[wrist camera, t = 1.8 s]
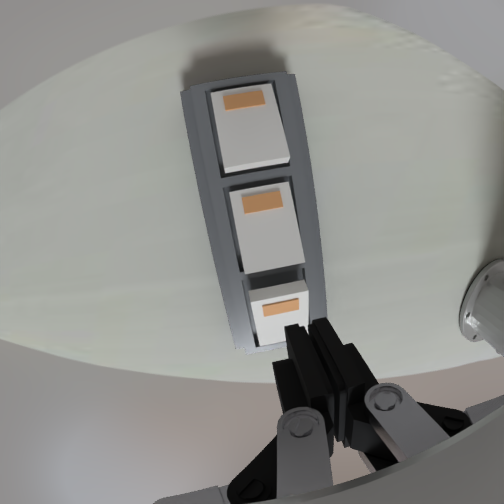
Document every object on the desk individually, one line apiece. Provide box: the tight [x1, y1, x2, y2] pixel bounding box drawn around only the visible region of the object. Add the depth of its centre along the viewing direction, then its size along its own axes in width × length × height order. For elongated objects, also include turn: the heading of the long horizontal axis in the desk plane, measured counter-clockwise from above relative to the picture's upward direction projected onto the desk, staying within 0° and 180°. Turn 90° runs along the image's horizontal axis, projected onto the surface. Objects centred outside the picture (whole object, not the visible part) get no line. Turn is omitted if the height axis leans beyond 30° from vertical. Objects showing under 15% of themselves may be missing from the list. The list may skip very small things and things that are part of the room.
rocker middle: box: [229, 182, 305, 274], centre depth 22 cm, size 6×4×1 cm
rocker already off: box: [249, 280, 309, 346], centre depth 25 cm, size 6×4×1 cm
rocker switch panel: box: [180, 71, 327, 355], centre depth 25 cm, size 23×9×4 cm, turn 10°
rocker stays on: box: [211, 84, 290, 173], centre depth 20 cm, size 6×4×1 cm
